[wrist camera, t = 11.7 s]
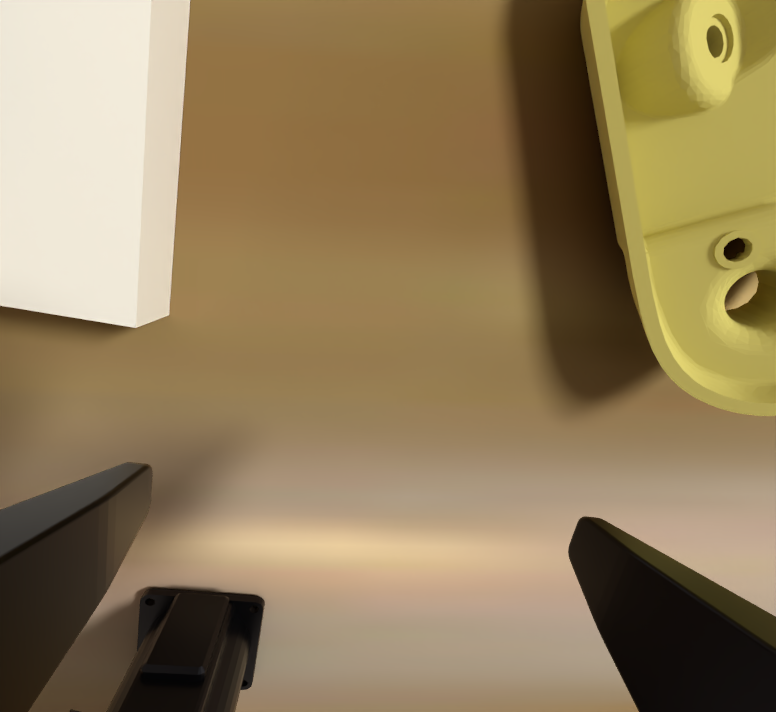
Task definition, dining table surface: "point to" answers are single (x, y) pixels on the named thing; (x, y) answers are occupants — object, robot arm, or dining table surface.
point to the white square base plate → (90, 155)
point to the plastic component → (693, 181)
